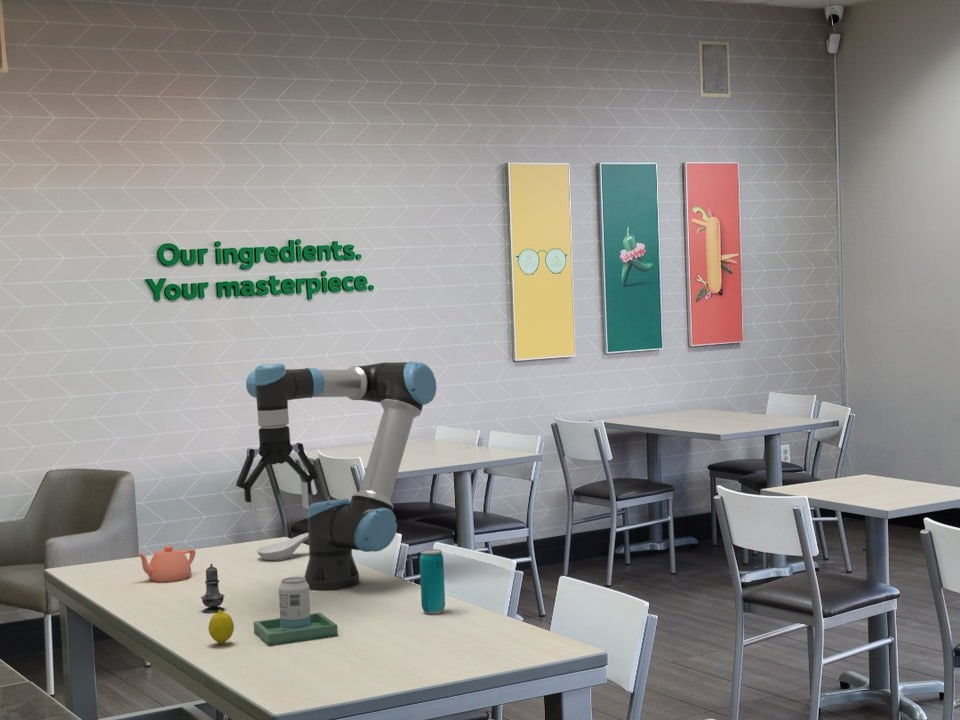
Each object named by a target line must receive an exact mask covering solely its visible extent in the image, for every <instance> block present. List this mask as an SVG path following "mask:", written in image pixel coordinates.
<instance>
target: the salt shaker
mask: <svg viewBox="0 0 960 720" xmlns="http://www.w3.org/2000/svg"><path fill="white" fill-rule="evenodd" d="M209 565H210V566H209V567H208V568H206V570H205V581H204V583H205V589H206V591H205V594H204V595H202V596H201V597H200V599H201V601H202V605H204V606H205V608H204V609H203V610H202V613H205V614H216V613H217V612H218V611H219V610H220V609H221V610H222V611H223V612H224V610H225V609H224V607H223V606H221V605H222V604H223V603H224V598H225V594H222V593H220V590H219V589H220V588H219V582H220V580H219V578H218V576H219V575H218V568H217V567H216V566H215V567H214V566H213V564H212V563H210V564H209Z"/></svg>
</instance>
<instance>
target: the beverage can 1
mask: <svg viewBox="0 0 960 720" xmlns="http://www.w3.org/2000/svg"><path fill="white" fill-rule="evenodd" d="M310 599H311V598H310V589H309V585H308V583H307V582H306V578H304V577H302V576H301V577H300V576H293V577H291V576H290V577H285V578H282V579H281V583H280V585H279V586H278V602H279V606H278V607H279V618H280V628H281V629H282V630H283V631H290V630H297V629H304V628H310V627H311V618H310V614H311V601H310Z"/></svg>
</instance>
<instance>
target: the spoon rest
mask: <svg viewBox="0 0 960 720" xmlns="http://www.w3.org/2000/svg"><path fill="white" fill-rule="evenodd" d="M306 540H309V538H308V532H305V533H302V534H298V535H297V536H294V537H292V538H289V539H287V540H284V541H280V542H277V543H273V544H272V543H271V544H268V545H263V546H261V547H259V548H258V549H257V550H256V553H257V554H258V555H259V557H261V558H262V559H264V560H265V561H269V560H270V562H271V561H272V562H277V561H285V560H288V559H289V558H290V557H291V556H292V555H293V554H294V552H296V550H297V549H298V548H299V547H300V546H301V544H303V543H304V542H305V541H306Z"/></svg>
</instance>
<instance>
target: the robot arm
mask: <svg viewBox="0 0 960 720" xmlns="http://www.w3.org/2000/svg"><path fill="white" fill-rule="evenodd" d="M434 374H435V373H434V371H432V369H431V368H430V366H429V365H427V364H425V363H424V362H420V361H419V362H417V361H405V362H403V361H402V362H401V361H400V362H399V361H398V362H380V363H372V364H366V365H353V366H350V367H348V368H347V369H318V368H315V367H305V368H296V369H295V368H288V369H287V368H286V366H285V364H284V363H269V364H260V365H257V366H256V368H255V369H254V370H252V371H251V372H250V373H249V374H248V376H247V377H246V379H245V383H246V385H245V387H246V390H247V393H248V394H249V396H251V397H253V398H256V408H257V411H256V412H257V423H258V427H260V428H259V429H258V439H259V440H258V441H259V442H258V443H259V445H258V448H251V447H248V448H247V449H246V458H245V461H244V463H243V466H242V468H241V470H240V472H239V476H238V478H237V480H236V484H235V486H236V487H238V488H240V489H243V491H244V493H243V494H244V501H245V502H246V503H248V504H249V505H248V506H249V508H248V509H249V515H250V516H252V517H254V516H257V515H256V514H257V512H256V501H255V500H256V499H255V488H253V485H254V484H255V482H256V481H257V480H258V478H259V477H260V475H261V474H262V473H263V471H264V470H265V468H266V467H267V466H268V465H272V466H273V465H276V464H279V465H280V464H285V463H287V464H288V465H289V466H290V467H291V468H292V470H294V471H295V472H296V474H298V475H299V477H301V479H302V480H303V481H300V484H301V485H300V487H301V499H302V500H301V501H302V508H303V509H306V510H307V518H306V519H307V520H306V521H307V533H308V551H309V553H308V554H309V558H308V561H307V562H308V563H307V566H306V569H305V573H304V578H306V582H307V583H308V585H309V590H310V589H311V590H317V591H318V590H319V591H321V590H322V591H323V590H325V591H326V590H327V591H329V590H339V589H340V590H341V589H346V588H350V587H354V586H357V585H359V584H360V573H359V570H358V567H357V565H356V562H355V559H354V557H353V551H362V552H365V553H369V552H370V553H371V552H373V553H375V552H377V553H378V552H380V551H383V550H384V549H386V548H387V547H389V546H390V544H391V543H392V542H393V540H394V538H395V536H396V535H397V534H396V533H397V528H398V523H397V522H396V521H397V518H396V515H395V514H394V512H393V511H394V508H395V507H394V505H393V503H392V502H391V499H392V494H393V492H394V488H395V484H396V481H397V477H398V474H399V471H400V466H401V465H402V464H401V463H402V460H403V456H404V453H405V451H406V450H405V449H406V446H407V443H408V440H409V436H410V432H411V428H412V426H413V422H414V419H415V418H417V417H419V416H421V415H422V412H423V411H422V410H423V407H424V405H425V406H426V405H427V404H430V403H431V402H432V401H433V400H434V399H435V396H436V394H437V393H436V392H437V381H436V380H437V379H436V377H435V376H434ZM343 397H344V398H348V399H350V400H352V401H367V402H374V403H380V406H381V407H382V409H383V411H382V414H381V418H380V420H379V421H380V422H379V425H378V429H377V432H376V435H375V439H374V443H373V446H372V449H371V451H370V455H369V458H368V461H367V464H366V469H365V471H364V475H363V478H362V482H361V485H360V489H359V491H357V492H355V493H353V494H352V496H351V499H349V498H339V499H331V500H327V501H326V500H324V501H319V502H315V503H312V504H310V505H309V495H311V494H312V482H313V480H315V479H318V478H319V475H318V473H317V471H316V469H315V468H314V466H313V464H312V462H311V461H310V459H309V457H308V456H307V454H306V452H305V448H304V444H303V443H301V442H296V443H295V444H291V434H290V427H289V426H288V424H289V423H290V418H289V403H288V401H293V400H300V399H301V400H302V399H312V398H343ZM293 451H294V452H295V453H297V455H298V457H299V459H300V460H301V463H302V464H303V466H304V468H305V469H306V471H307V472H308V473H307V472H306V471H305V470H304V469H303V468H302V467H301V466H300V465H299V464H297V462H296V461H295V460H294V458H292V457H291V456H290V455H291V453H292V452H293ZM257 455H260V457H261V459H259V461H258V463H257V465H256V466H255V468H254V469H253V471H252V472H251V473H250V470H251V467H252V465H253V463H254V459H255V458H256V457H257ZM249 474H250V475H249ZM248 475H249V477H248Z"/></svg>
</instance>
